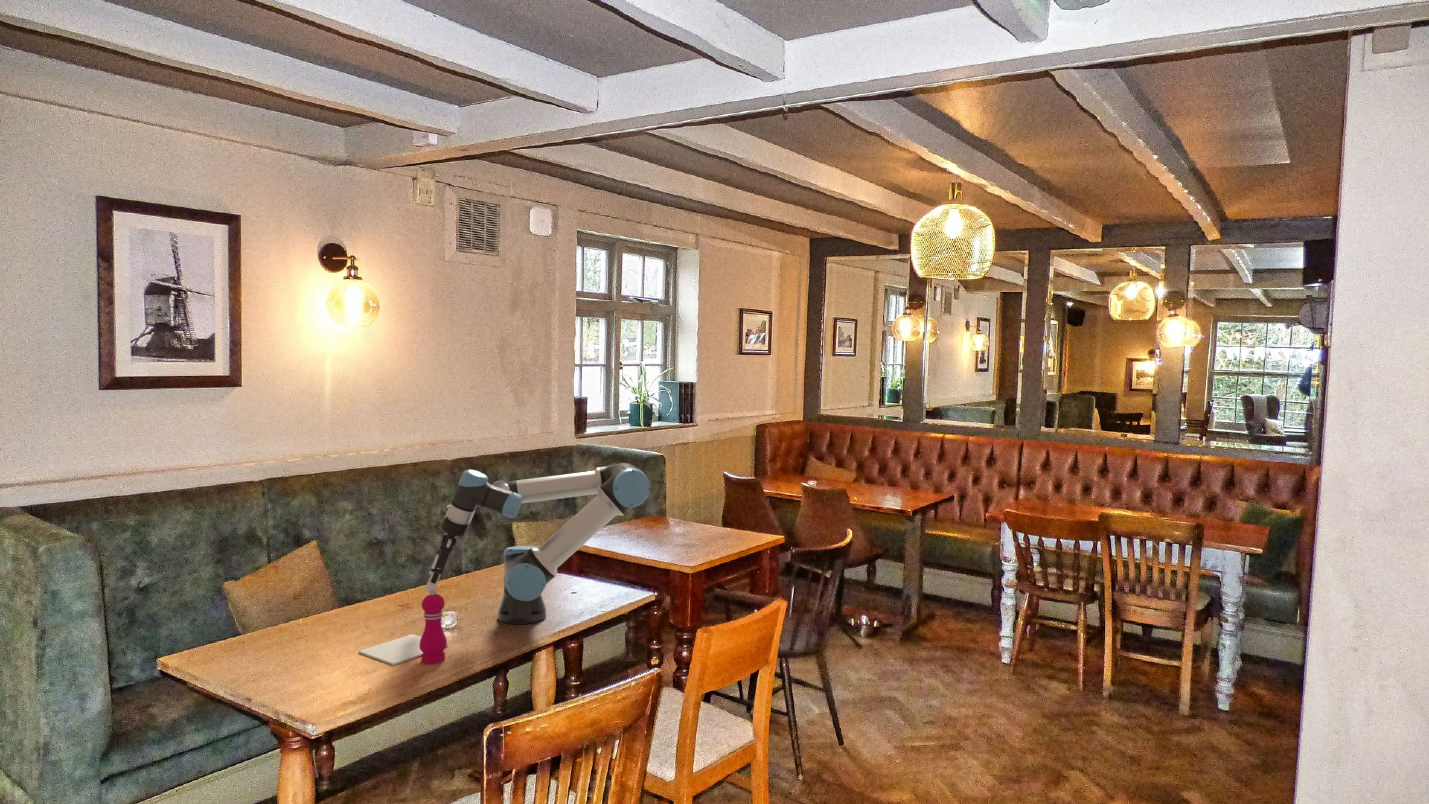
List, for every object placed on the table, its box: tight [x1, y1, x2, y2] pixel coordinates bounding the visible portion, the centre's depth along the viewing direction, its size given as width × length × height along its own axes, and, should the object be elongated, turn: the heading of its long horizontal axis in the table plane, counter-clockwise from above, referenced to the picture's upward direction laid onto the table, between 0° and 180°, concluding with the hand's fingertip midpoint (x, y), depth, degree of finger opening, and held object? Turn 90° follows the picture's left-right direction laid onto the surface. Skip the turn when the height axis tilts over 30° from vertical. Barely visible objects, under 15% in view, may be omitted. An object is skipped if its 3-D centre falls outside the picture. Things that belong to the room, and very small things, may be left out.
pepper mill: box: [419, 588, 448, 665], centre depth 237 cm, size 7×7×20 cm
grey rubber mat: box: [358, 633, 448, 666], centre depth 244 cm, size 16×18×1 cm
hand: (431, 583), depth 258 cm, fingers open, 13 cm apart
